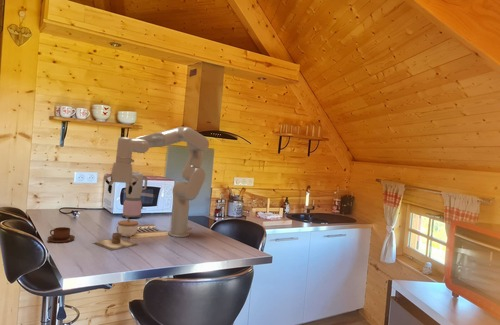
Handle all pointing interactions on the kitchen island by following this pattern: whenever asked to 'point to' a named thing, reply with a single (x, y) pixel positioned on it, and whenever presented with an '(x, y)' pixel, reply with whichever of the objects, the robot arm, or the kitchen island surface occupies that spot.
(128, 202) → the blender
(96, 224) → the kitchen island surface
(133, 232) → the lidded jar
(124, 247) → the rubber mat
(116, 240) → the birch lid
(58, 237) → the cup and saucer
